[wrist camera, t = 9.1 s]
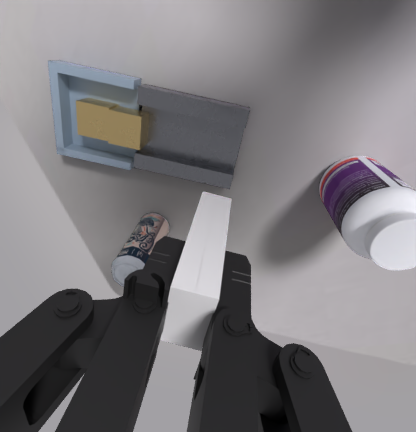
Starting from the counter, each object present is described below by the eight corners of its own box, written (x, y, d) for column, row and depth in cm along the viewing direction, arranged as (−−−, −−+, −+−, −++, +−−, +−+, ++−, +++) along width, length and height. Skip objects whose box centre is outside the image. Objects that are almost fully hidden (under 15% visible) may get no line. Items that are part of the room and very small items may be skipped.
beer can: (162, 208, 42) (135, 257, 31) (175, 233, 44) (153, 287, 33) (135, 215, 43) (100, 265, 33) (148, 239, 45) (119, 293, 35)
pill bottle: (313, 209, 39) (345, 279, 26) (322, 153, 35) (364, 206, 22) (374, 209, 38) (437, 283, 25) (390, 152, 34) (474, 207, 21)
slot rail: (145, 83, 33) (138, 85, 31) (249, 107, 33) (249, 110, 31) (140, 161, 38) (133, 167, 36) (230, 181, 38) (229, 189, 36)
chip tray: (60, 60, 33) (47, 60, 31) (141, 78, 33) (134, 80, 31) (67, 148, 39) (57, 153, 36) (136, 164, 38) (130, 170, 36)
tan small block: (88, 97, 34) (75, 100, 32) (119, 104, 34) (109, 107, 32) (89, 129, 36) (77, 134, 34) (118, 135, 36) (109, 141, 34)
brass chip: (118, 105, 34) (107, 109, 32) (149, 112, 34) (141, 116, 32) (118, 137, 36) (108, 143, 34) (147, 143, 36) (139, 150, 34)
